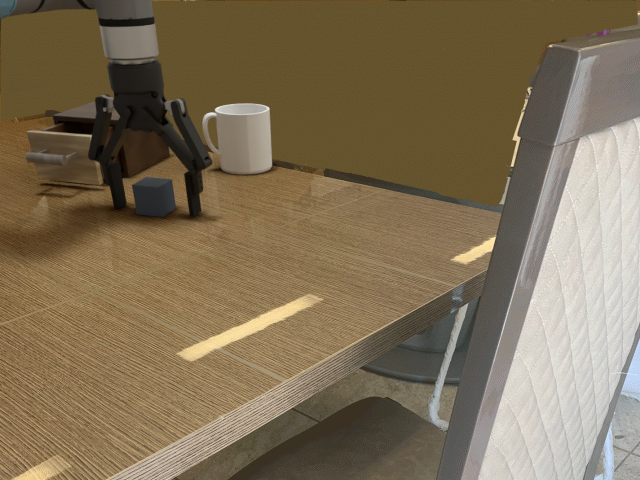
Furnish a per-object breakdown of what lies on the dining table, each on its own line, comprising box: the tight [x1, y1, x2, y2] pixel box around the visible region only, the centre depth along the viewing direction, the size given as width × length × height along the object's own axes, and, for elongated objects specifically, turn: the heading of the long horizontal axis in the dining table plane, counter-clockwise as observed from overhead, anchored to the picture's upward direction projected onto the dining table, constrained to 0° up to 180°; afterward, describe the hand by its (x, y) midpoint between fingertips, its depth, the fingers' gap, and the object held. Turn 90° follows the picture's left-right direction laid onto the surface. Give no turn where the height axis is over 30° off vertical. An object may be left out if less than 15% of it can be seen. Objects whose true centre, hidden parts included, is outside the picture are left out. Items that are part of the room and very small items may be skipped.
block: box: [131, 176, 177, 218], centre depth 102 cm, size 5×5×5 cm
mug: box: [202, 103, 273, 175], centre depth 120 cm, size 13×10×10 cm
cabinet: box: [52, 100, 171, 178], centre depth 123 cm, size 16×14×10 cm
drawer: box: [25, 121, 123, 186], centre depth 114 cm, size 20×13×8 cm, turn 162°
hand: (157, 210), depth 103 cm, fingers open, 13 cm apart
